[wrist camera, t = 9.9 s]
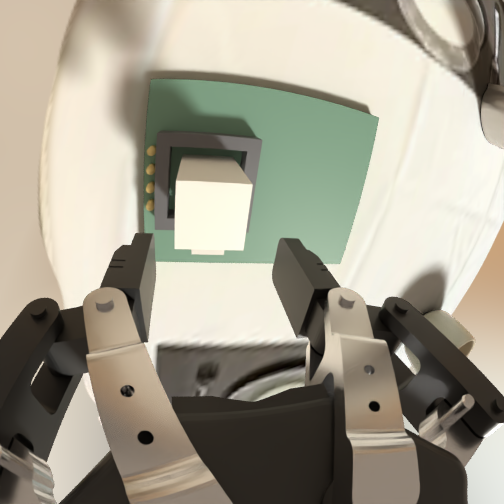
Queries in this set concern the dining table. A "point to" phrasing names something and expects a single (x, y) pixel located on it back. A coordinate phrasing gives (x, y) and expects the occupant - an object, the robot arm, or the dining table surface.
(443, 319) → the planter
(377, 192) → the dining table surface
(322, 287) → the robot arm
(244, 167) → the board
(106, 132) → the dining table surface
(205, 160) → the plug
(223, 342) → the dining table surface
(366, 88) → the dining table surface
